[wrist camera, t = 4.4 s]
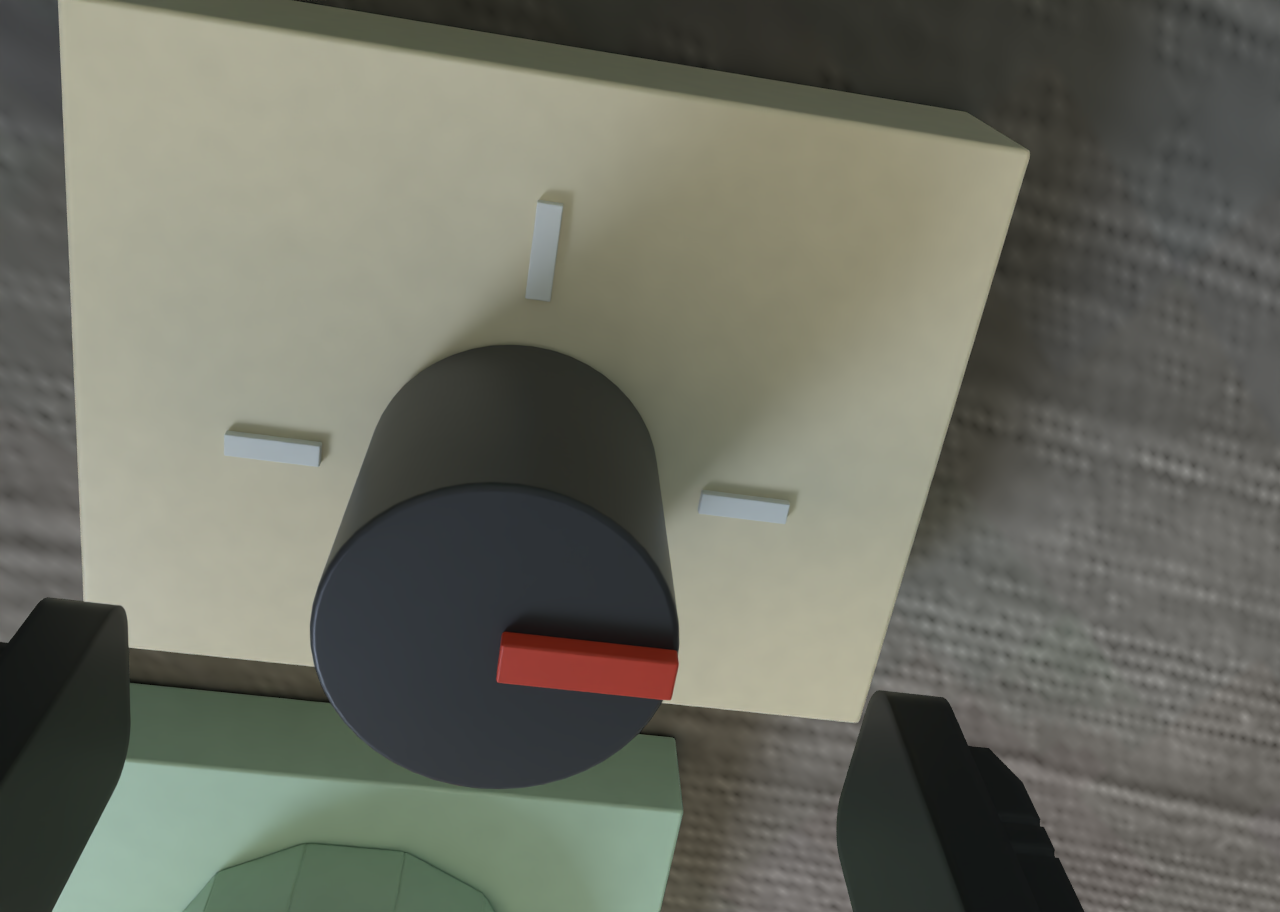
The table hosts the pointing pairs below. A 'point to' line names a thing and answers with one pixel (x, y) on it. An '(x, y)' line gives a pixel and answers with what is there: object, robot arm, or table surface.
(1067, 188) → the table surface
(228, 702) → the button base
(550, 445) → the dial
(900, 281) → the dial panel
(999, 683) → the table surface
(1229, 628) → the table surface
